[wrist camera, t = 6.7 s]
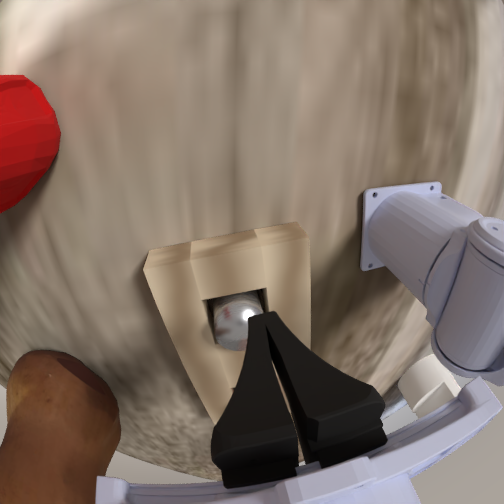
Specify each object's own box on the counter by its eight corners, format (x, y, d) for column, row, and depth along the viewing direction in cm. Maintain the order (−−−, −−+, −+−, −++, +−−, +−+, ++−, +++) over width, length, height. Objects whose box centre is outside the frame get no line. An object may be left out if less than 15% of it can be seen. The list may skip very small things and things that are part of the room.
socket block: (296, 221, 22) (309, 237, 20) (302, 390, 34) (308, 407, 31) (149, 250, 22) (143, 269, 19) (213, 407, 33) (215, 426, 30)
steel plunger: (254, 275, 24) (265, 308, 20) (260, 310, 26) (270, 345, 22) (208, 284, 24) (210, 319, 20) (217, 319, 25) (221, 354, 22)
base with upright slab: (420, 384, 43) (448, 429, 32) (388, 392, 40) (417, 444, 30) (445, 351, 39) (480, 397, 28) (415, 357, 37) (452, 412, 26)
